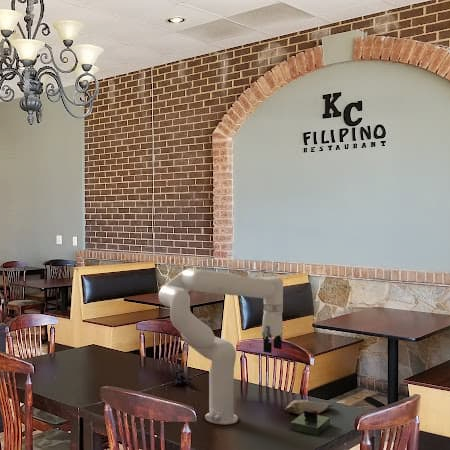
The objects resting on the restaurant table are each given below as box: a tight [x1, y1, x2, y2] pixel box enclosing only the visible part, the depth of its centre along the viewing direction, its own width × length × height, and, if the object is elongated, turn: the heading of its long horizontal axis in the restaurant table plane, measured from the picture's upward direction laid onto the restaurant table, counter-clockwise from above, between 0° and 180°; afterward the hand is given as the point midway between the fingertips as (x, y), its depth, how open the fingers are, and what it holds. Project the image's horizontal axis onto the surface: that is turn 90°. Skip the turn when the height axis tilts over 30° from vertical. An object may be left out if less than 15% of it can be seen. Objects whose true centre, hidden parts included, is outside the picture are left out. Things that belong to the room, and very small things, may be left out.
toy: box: [172, 368, 192, 387], centre depth 293 cm, size 6×8×15 cm
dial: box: [304, 408, 318, 422], centre depth 233 cm, size 5×5×4 cm
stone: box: [284, 399, 335, 416], centre depth 252 cm, size 21×6×10 cm
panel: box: [290, 413, 331, 437], centre depth 233 cm, size 14×10×3 cm
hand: (272, 350), depth 249 cm, fingers open, 9 cm apart
